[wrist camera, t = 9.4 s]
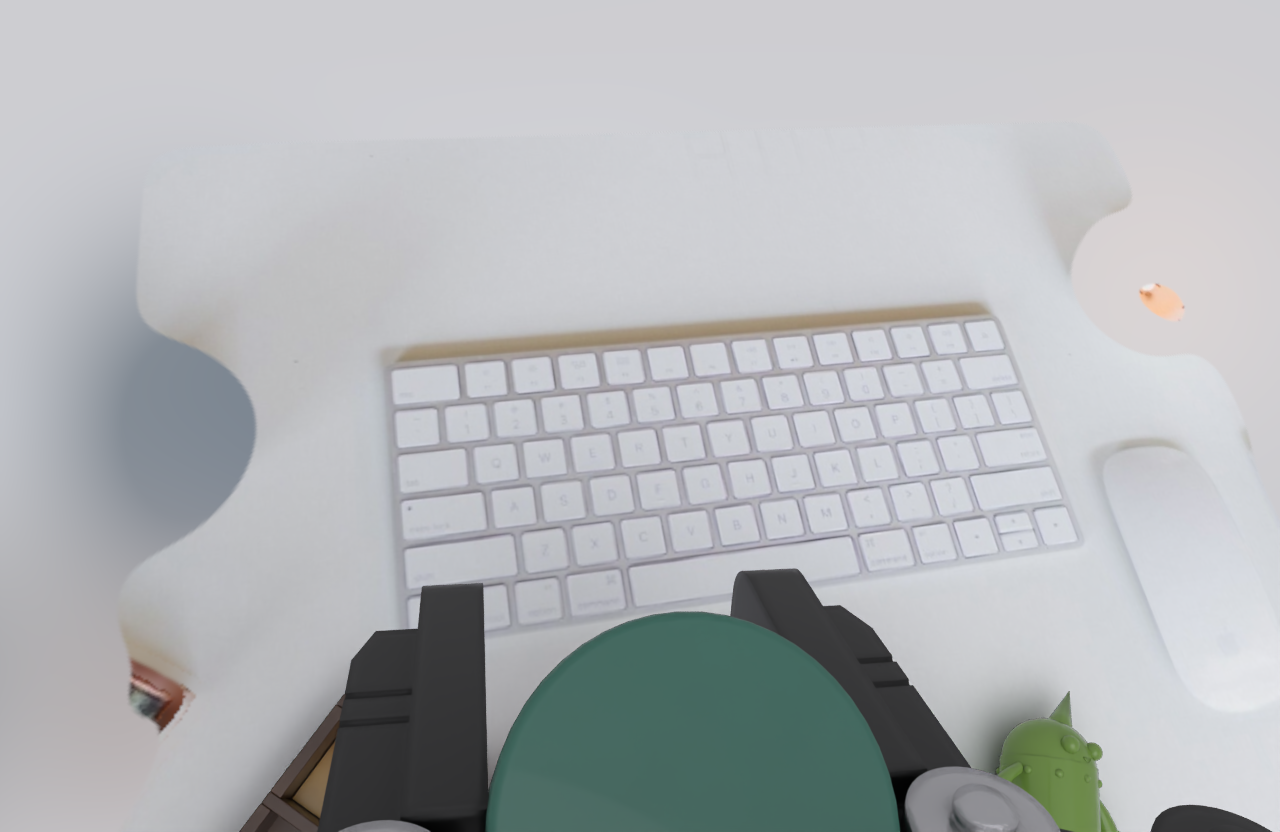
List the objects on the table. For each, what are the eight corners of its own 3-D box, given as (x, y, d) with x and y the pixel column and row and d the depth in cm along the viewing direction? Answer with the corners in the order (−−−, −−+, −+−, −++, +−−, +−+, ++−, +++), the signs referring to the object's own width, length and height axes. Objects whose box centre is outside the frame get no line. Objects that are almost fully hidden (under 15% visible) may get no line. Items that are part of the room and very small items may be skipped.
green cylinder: (618, 979, 13) (788, 1193, 6) (440, 852, 13) (392, 906, 6) (723, 781, 14) (966, 753, 7) (560, 669, 15) (636, 535, 7)
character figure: (1021, 921, 40) (1018, 653, 45) (930, 903, 44) (936, 659, 49) (1169, 948, 45) (1151, 704, 50) (1075, 929, 49) (1067, 706, 54)
